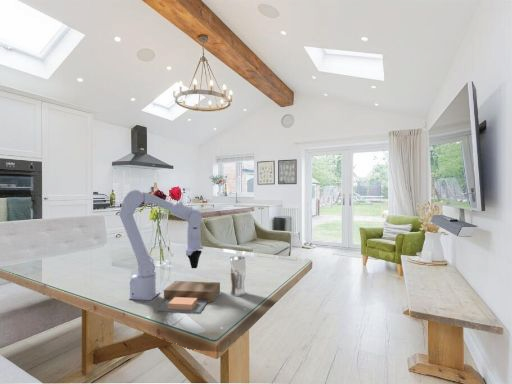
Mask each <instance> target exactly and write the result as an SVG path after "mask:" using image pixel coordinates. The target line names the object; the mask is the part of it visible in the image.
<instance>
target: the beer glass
mask: <svg viewBox="0 0 512 384" xmlns="http://www.w3.org/2000/svg"><path fill="white" fill-rule="evenodd" d="M228 267H229V276H230V285H231V288H230V295H231V296H234V297H240V296H242V297H243V296H244V295H245V294H246V290H245V281H246V280H245V279H246V272H247V262H246V256H241V255H237V256H236V255H234V256H231V257H229V266H228Z"/></svg>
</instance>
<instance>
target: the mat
mask: <svg viewBox="0 0 512 384" xmlns="http://www.w3.org/2000/svg"><path fill="white" fill-rule="evenodd" d="M171 300H172V299H168V300H165V301H164V302H163V304H162V305H160V306H159V307H158V308H157V309H156V312H163V313H165V312H166V313H182V314H183V313H185V314H187V313H188V314H200V313H201V312H202V310H204V308H205V307H206V306H207V304H208V303H209V302H208V301H204V300H197V304H196V306H195V307H194V308H193V309H192V310H180V309H168V303H169V302H170V301H171Z"/></svg>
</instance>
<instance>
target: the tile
mask: <svg viewBox="0 0 512 384" xmlns="http://www.w3.org/2000/svg"><path fill="white" fill-rule="evenodd" d="M196 304H197V298H184V297H174V298H173V299H172V300H171V301H170V302H169V303H168V309H180V310H192V309H193V308H194V307H195V306H196Z"/></svg>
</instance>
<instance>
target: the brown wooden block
mask: <svg viewBox="0 0 512 384" xmlns="http://www.w3.org/2000/svg"><path fill="white" fill-rule="evenodd" d="M220 293H221V282H214V281H213V282H212V281H211V282H210V281H186V280H185V281H184V280H175V281H174V282H173V283H171V284H170V285H168V286H167V287H166V288H165V289H163V300H164V301H167V300H168V299H173V298H174V297H184V298H197V300H204V301H208V303H214V302H215V299H216V298H217V297H218V296H219V294H220Z"/></svg>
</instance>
